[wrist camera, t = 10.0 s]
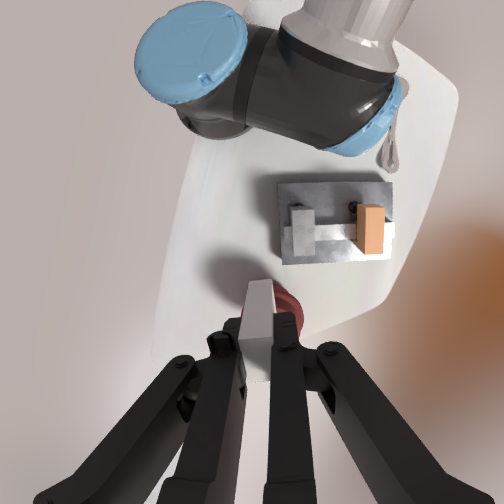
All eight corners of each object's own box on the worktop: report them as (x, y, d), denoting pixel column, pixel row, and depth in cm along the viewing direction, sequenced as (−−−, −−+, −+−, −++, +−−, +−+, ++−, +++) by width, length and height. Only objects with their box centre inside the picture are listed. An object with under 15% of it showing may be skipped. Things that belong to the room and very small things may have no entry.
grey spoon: (407, 176, 39) (382, 169, 39) (397, 177, 42) (374, 170, 42) (412, 72, 34) (389, 63, 34) (404, 78, 38) (382, 70, 38)
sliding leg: (353, 202, 41) (365, 207, 35) (370, 202, 41) (385, 207, 35) (353, 244, 43) (364, 255, 37) (369, 243, 43) (383, 253, 37)
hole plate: (277, 183, 44) (277, 184, 41) (385, 181, 43) (392, 182, 40) (281, 259, 48) (282, 265, 45) (383, 253, 46) (390, 258, 43)
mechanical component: (252, 326, 52) (238, 280, 50) (303, 315, 51) (293, 267, 48) (248, 367, 40) (228, 314, 38) (311, 355, 39) (300, 298, 36)
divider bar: (282, 205, 42) (284, 211, 36) (389, 202, 41) (405, 207, 35) (284, 245, 44) (286, 256, 38) (388, 240, 43) (403, 250, 37)
